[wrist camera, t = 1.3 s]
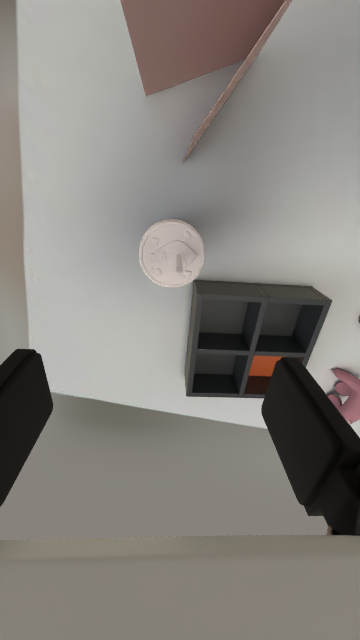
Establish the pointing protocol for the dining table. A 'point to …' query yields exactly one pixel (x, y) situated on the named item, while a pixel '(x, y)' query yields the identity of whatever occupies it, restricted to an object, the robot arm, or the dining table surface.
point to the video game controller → (356, 389)
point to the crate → (248, 335)
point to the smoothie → (172, 253)
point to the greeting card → (198, 40)
